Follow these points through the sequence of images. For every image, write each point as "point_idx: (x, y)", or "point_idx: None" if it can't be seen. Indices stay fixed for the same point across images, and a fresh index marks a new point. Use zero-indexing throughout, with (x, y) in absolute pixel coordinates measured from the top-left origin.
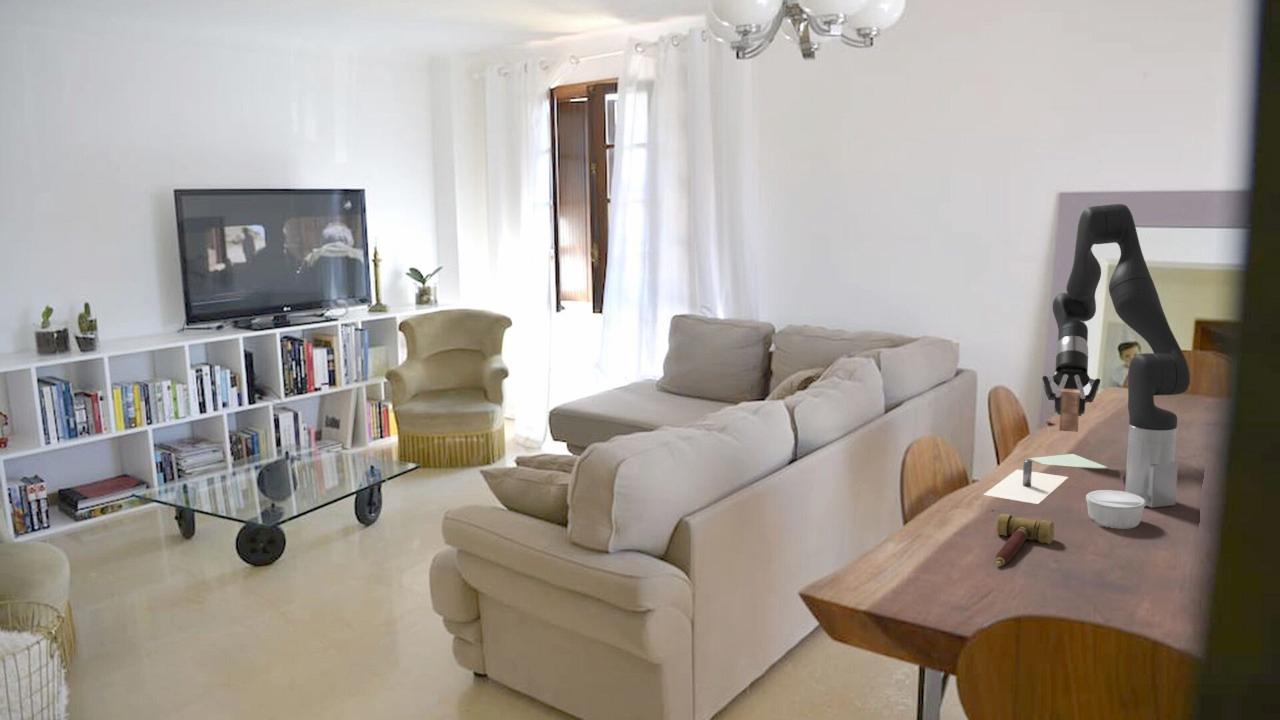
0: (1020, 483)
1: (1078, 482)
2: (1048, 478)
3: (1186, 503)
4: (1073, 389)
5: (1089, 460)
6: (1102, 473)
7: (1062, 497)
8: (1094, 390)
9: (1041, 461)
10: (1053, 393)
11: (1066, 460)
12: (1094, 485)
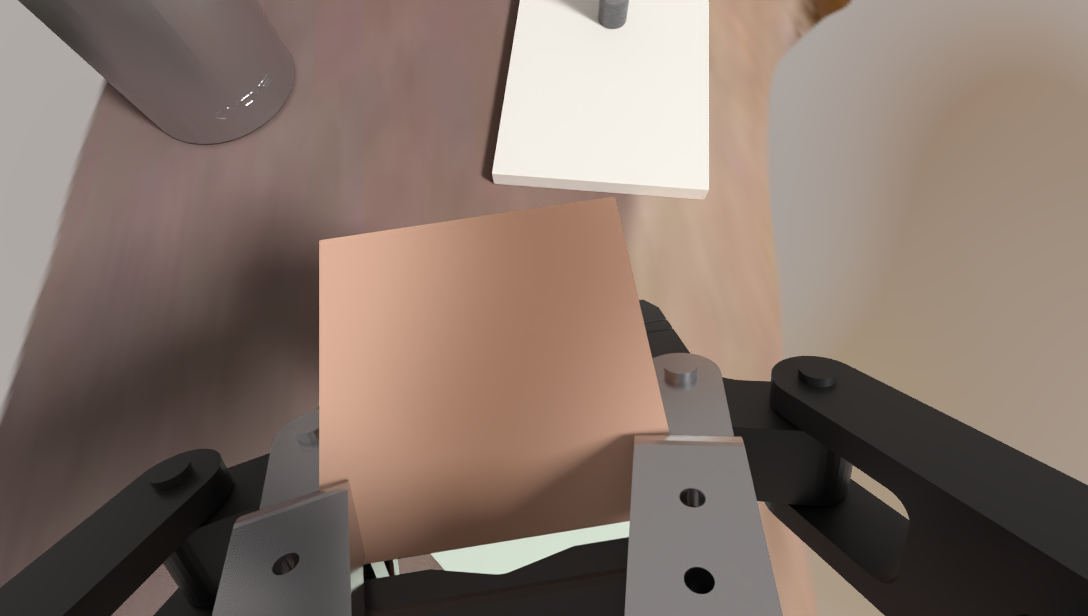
0: (639, 31)
1: (456, 185)
2: (561, 123)
3: (103, 112)
4: (440, 484)
5: (435, 553)
6: None
7: (488, 11)
8: (28, 587)
9: None
10: (774, 426)
11: None
12: (396, 174)
